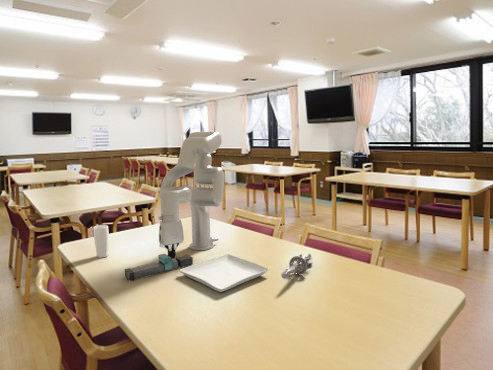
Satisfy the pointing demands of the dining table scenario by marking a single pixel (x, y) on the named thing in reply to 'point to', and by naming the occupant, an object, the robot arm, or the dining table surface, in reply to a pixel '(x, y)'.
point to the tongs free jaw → (142, 267)
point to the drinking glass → (101, 240)
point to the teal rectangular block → (165, 261)
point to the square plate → (224, 272)
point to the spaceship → (297, 265)
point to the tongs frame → (159, 268)
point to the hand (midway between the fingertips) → (171, 258)
